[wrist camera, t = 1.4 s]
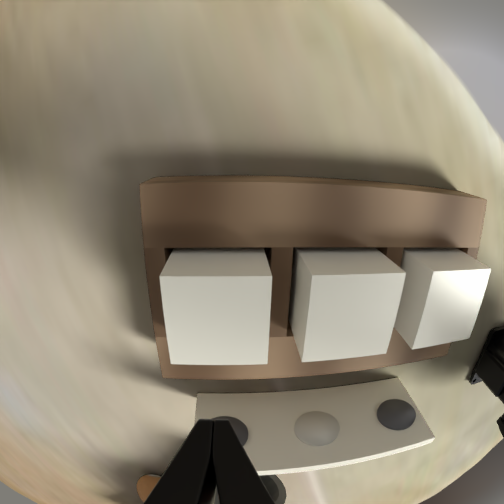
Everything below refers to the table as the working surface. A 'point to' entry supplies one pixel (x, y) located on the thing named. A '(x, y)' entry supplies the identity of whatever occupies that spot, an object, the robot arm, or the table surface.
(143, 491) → the toy
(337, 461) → the card
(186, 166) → the table surface
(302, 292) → the button mid
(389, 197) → the board
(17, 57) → the table surface
